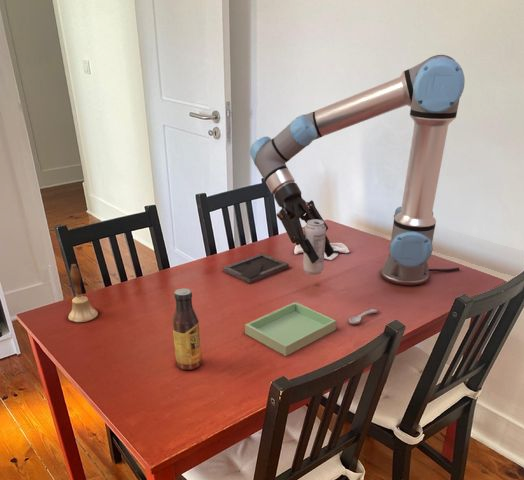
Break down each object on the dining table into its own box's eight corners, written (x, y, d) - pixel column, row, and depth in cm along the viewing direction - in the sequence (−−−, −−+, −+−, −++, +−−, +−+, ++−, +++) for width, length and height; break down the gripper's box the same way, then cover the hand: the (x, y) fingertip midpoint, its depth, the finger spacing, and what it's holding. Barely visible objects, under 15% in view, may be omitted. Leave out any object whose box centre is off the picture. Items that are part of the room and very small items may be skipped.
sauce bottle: (197, 372, 129) (191, 299, 119) (173, 369, 130) (164, 297, 120) (205, 358, 135) (199, 287, 124) (181, 355, 136) (174, 285, 125)
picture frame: (249, 283, 172) (288, 268, 182) (249, 277, 171) (288, 262, 181) (223, 271, 180) (262, 257, 190) (223, 266, 179) (262, 252, 189)
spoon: (345, 323, 149) (346, 317, 148) (370, 312, 156) (371, 305, 155) (354, 327, 147) (355, 320, 146) (378, 315, 155) (380, 309, 154)
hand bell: (89, 306, 159) (78, 256, 150) (103, 315, 154) (93, 264, 145) (63, 315, 154) (51, 264, 146) (77, 325, 149) (65, 273, 141)
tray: (295, 310, 156) (295, 301, 155) (335, 329, 146) (336, 320, 145) (245, 333, 145) (245, 324, 143) (285, 356, 135) (285, 346, 134)
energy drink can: (314, 265, 160) (317, 217, 152) (327, 272, 156) (330, 223, 148) (298, 270, 158) (300, 221, 150) (311, 277, 153) (313, 227, 145)
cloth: (356, 249, 196) (358, 233, 193) (327, 264, 184) (328, 248, 181) (308, 235, 209) (309, 220, 205) (278, 249, 197) (278, 233, 194)
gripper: (299, 190, 162) (337, 255, 160) (253, 202, 151) (293, 273, 149) (313, 175, 155) (352, 243, 154) (266, 187, 145) (308, 260, 143)
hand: (323, 257), depth 152 cm, fingers closed on energy drink can, 6 cm apart
